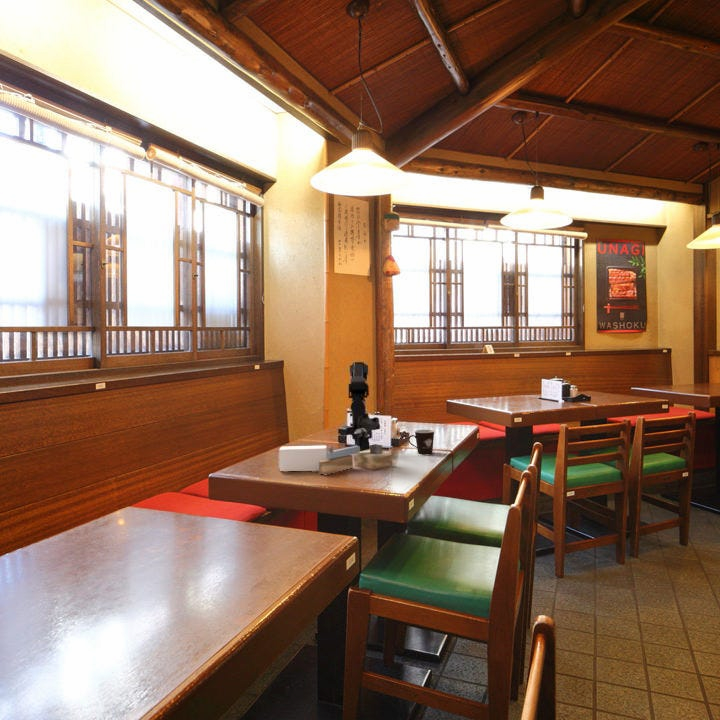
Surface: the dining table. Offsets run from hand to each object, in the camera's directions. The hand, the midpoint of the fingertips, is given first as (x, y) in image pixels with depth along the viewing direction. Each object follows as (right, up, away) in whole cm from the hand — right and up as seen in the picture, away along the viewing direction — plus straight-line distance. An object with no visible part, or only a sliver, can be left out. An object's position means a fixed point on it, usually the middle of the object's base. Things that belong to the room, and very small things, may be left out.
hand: (360, 448), depth 229 cm
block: (-7, -2, -6) cm, 9 cm away
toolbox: (+5, -7, -1) cm, 9 cm away
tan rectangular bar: (-9, -8, -8) cm, 15 cm away
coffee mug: (+27, -5, +19) cm, 34 cm away
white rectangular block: (-23, -8, -5) cm, 25 cm away
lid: (+5, -2, -1) cm, 6 cm away
